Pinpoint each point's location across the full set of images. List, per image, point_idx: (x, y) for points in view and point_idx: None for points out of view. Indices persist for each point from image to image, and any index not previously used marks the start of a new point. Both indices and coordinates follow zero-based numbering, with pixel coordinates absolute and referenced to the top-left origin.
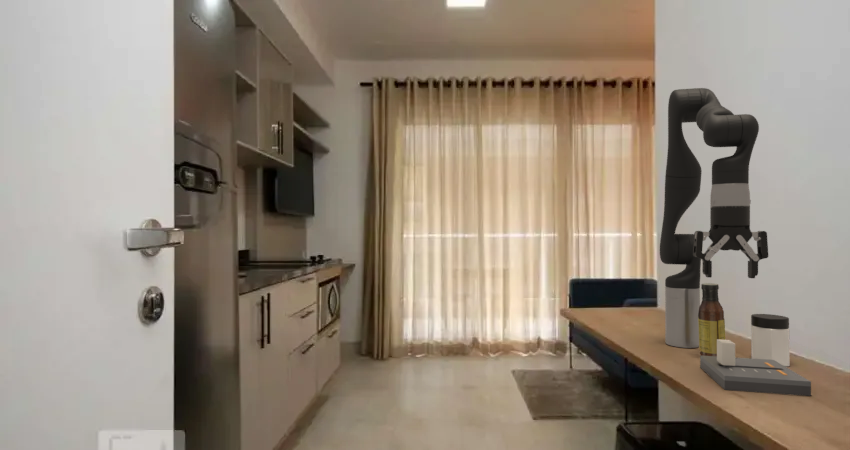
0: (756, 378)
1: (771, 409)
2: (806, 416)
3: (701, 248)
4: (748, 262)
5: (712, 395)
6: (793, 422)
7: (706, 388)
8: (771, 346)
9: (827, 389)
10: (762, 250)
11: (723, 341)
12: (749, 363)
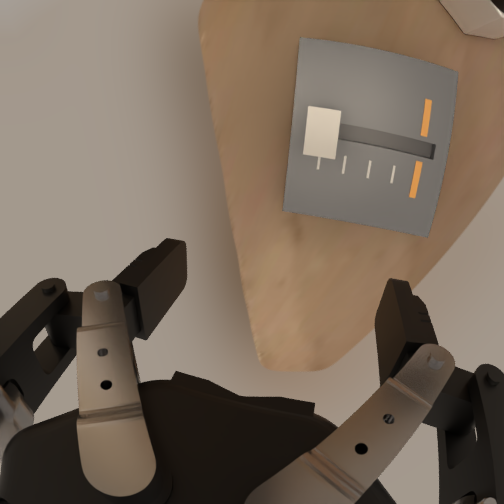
0: (340, 220)
1: (312, 290)
2: (344, 312)
3: (55, 377)
4: (400, 343)
5: (251, 235)
6: (311, 330)
7: (256, 197)
8: (482, 25)
9: (474, 187)
10: (441, 458)
11: (314, 133)
12: (389, 104)
